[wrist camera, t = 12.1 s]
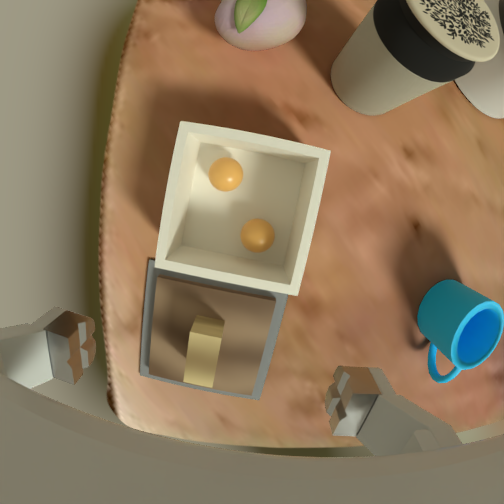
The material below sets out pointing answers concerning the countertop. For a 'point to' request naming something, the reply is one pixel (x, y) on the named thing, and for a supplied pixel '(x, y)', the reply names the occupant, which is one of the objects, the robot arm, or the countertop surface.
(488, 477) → the robot arm
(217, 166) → the clementine
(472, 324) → the mug
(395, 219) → the countertop surface
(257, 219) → the clementine
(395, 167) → the countertop surface
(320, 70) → the countertop surface
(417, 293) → the countertop surface
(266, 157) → the box
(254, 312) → the lid
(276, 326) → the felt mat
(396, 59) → the travel mug
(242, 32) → the decorative fruit
